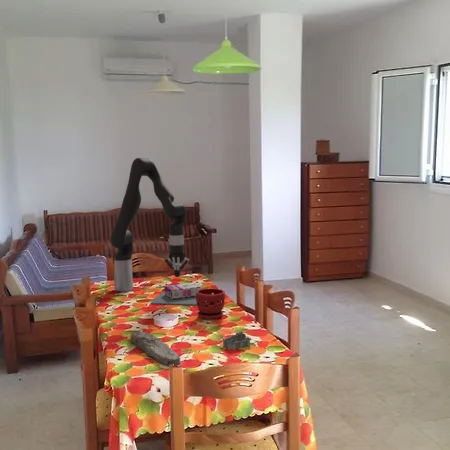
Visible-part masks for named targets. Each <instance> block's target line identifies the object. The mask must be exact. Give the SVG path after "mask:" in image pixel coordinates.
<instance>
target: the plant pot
mask: <svg viewBox="0 0 450 450" xmlns="http://www.w3.org/2000/svg"><path fill="white" fill-rule="evenodd" d="M225 296H226V292H225V291H224V290H223V289H220V288H201V289H200V290H198V291H197V292H196V302H197V305H196V306H197V309H198V311H197V316H198V317H200V318H202V319H204V320H216V319H219V318H220V317H222V316H223V314H224V313H223V309H224V306H225V305H224V304H225V299H226V297H225Z"/></svg>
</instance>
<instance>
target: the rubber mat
mask: <svg viewBox="0 0 450 450" xmlns="http://www.w3.org/2000/svg"><path fill="white" fill-rule="evenodd" d="M150 305H169V306H171V305H172V306H174V305H175V306H197V302H196V296H193V297H185V298H178V299H170V298H169V297H168V296H166V295H165V291H162V292H160V293H159V294H158V295H157V296H156V297H155V298H154V299H153V300H152V301H151V302H150Z"/></svg>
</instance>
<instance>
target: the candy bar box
mask: <svg viewBox="0 0 450 450" xmlns="http://www.w3.org/2000/svg"><path fill="white" fill-rule="evenodd" d="M200 289H202V287H201V285H198V284H197V283H195V282H188V283H181V284H173V285H172V284H171V285H164V292H165V295H166V296H168V297H169V298H170V299H178V298H185V297H193V296H196V292H197V291H198V290H200Z"/></svg>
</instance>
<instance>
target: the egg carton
mask: <svg viewBox="0 0 450 450" xmlns="http://www.w3.org/2000/svg"><path fill="white" fill-rule="evenodd" d="M251 340H252V338H251V337H250V336H247V335H246V333H244V332H243V331H238V332H236V333H235V334H233V335H231V336H229V337H225V338H222V339H221V342H222V347H224V348H227V350H233V351H235V350H236V349H237V348H240V349H242V348H244V346H246V347H248V346H250V345H251Z"/></svg>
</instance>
